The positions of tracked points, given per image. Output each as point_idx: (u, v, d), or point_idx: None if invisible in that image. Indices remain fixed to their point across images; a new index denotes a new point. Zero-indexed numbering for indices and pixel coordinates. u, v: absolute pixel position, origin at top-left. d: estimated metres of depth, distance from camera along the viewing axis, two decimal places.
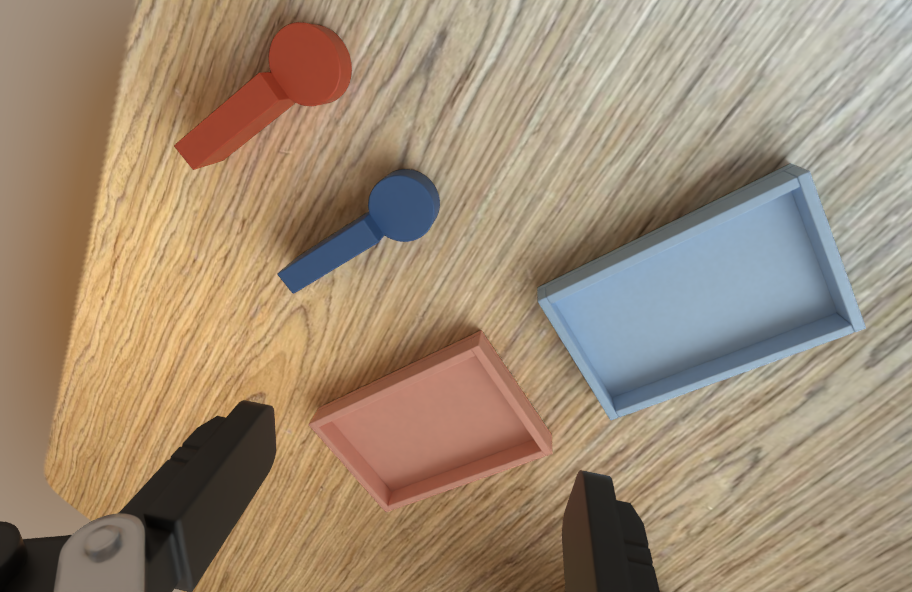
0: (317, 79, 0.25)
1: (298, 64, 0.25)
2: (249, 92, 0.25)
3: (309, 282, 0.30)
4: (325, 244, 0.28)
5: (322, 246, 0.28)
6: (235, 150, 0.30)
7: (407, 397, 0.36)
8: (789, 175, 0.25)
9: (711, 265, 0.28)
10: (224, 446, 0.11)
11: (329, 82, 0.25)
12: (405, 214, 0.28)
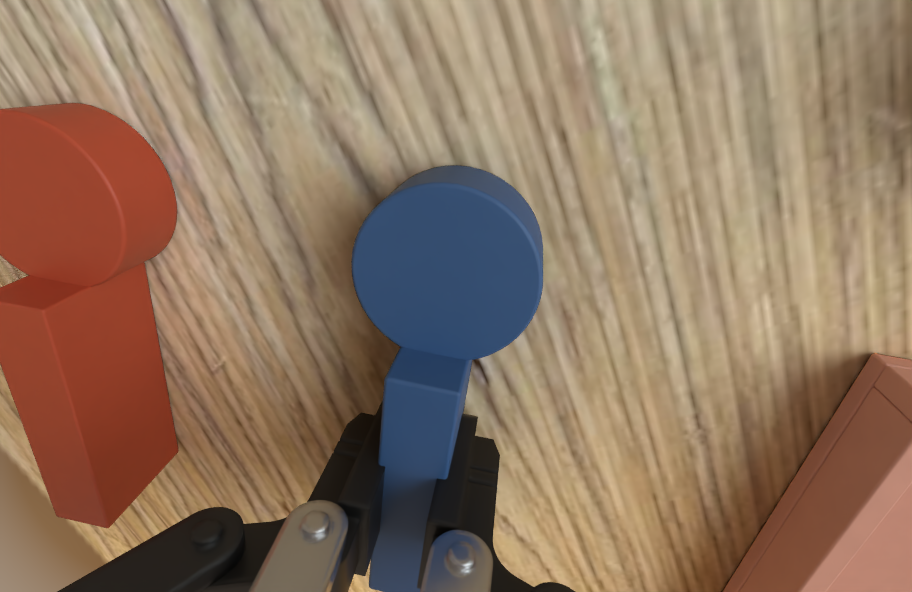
0: (72, 205, 0.10)
1: (31, 215, 0.11)
2: (8, 344, 0.11)
3: None
4: None
5: None
6: (171, 425, 0.15)
7: None
8: None
9: None
10: None
11: (89, 187, 0.10)
12: (462, 282, 0.10)
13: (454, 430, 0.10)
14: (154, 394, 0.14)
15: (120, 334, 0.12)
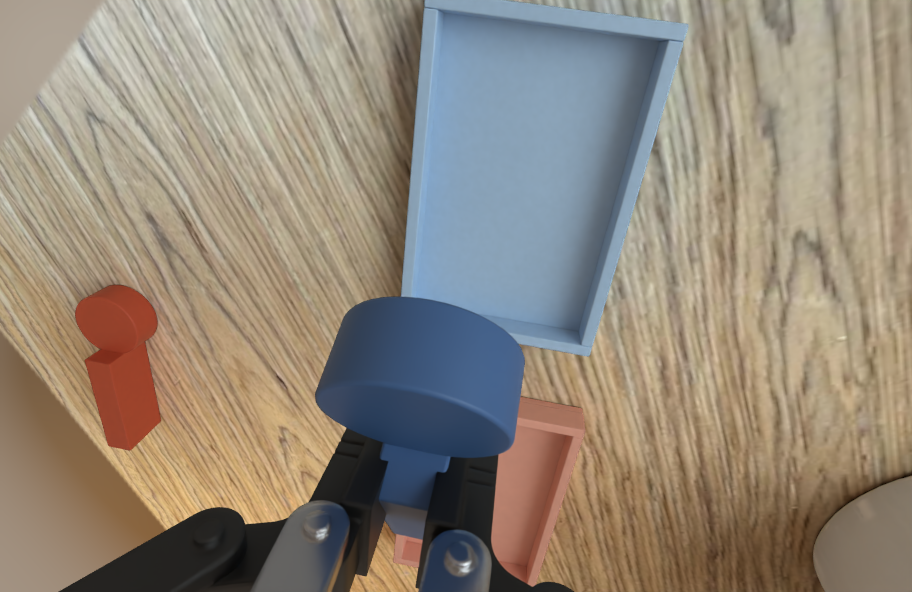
0: (118, 326, 0.29)
1: (103, 329, 0.29)
2: (94, 376, 0.29)
3: None
4: None
5: None
6: (157, 408, 0.34)
7: None
8: None
9: (491, 143, 0.22)
10: None
11: (125, 321, 0.29)
12: (432, 430, 0.09)
13: None
14: (149, 394, 0.33)
15: (135, 370, 0.31)
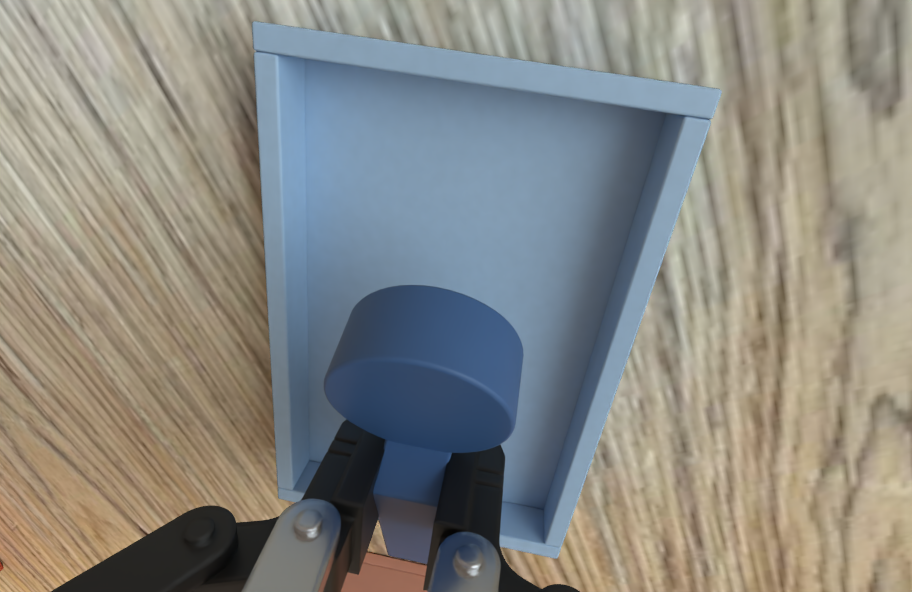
0: None
1: None
2: None
3: None
4: (382, 525, 0.13)
5: (382, 528, 0.13)
6: None
7: None
8: None
9: (399, 256, 0.14)
10: (378, 439, 0.11)
11: None
12: (436, 416, 0.10)
13: None
14: None
15: None
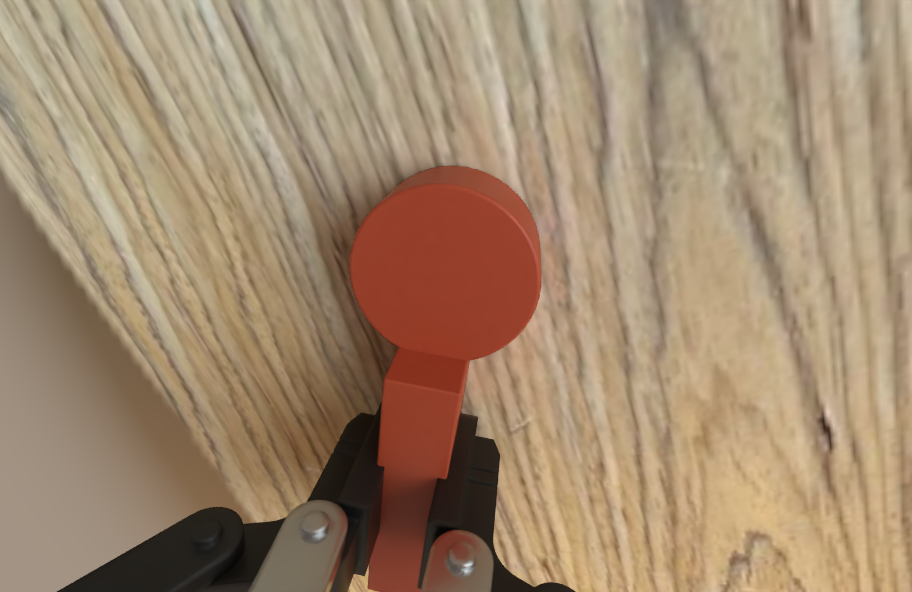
0: (485, 281, 0.10)
1: (431, 289, 0.10)
2: (399, 426, 0.10)
3: None
4: None
5: None
6: None
7: None
8: None
9: None
10: None
11: (515, 264, 0.09)
12: None
13: None
14: None
15: (461, 403, 0.12)
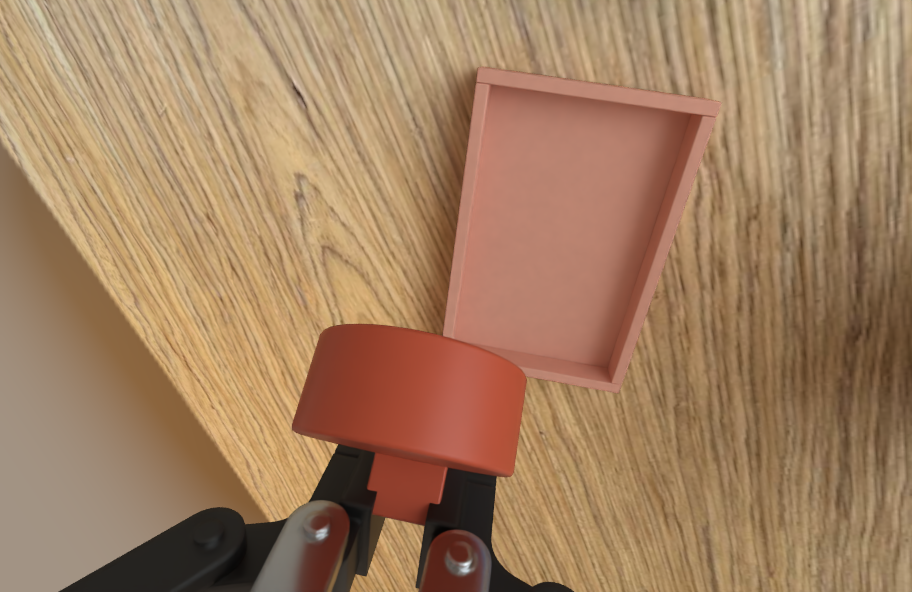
0: (449, 465, 0.08)
1: (392, 453, 0.09)
2: None
3: None
4: None
5: None
6: None
7: (499, 234, 0.25)
8: None
9: None
10: None
11: (479, 470, 0.08)
12: None
13: None
14: None
15: None
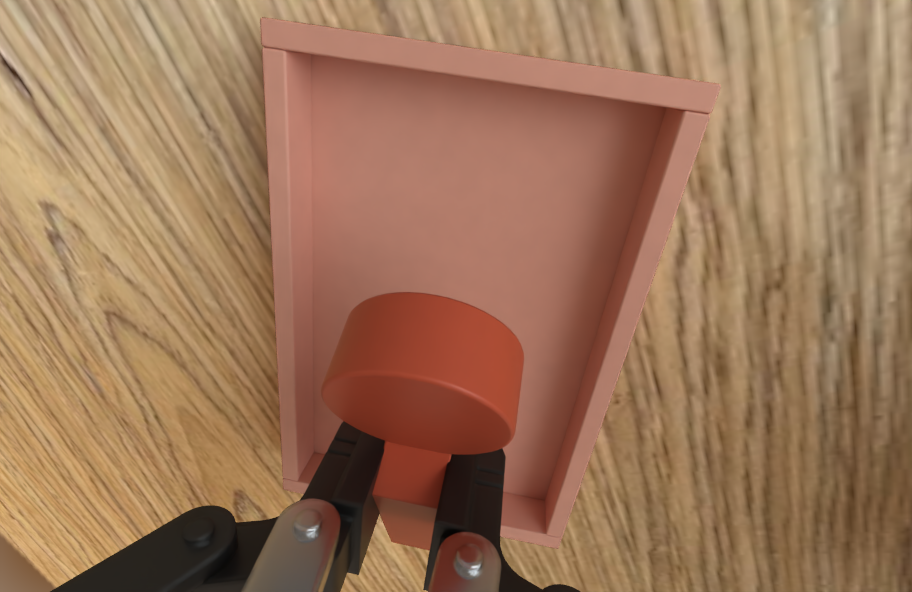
0: (459, 425, 0.09)
1: (406, 422, 0.10)
2: (392, 508, 0.11)
3: None
4: None
5: None
6: None
7: None
8: None
9: None
10: (378, 439, 0.11)
11: (486, 422, 0.09)
12: None
13: None
14: None
15: None
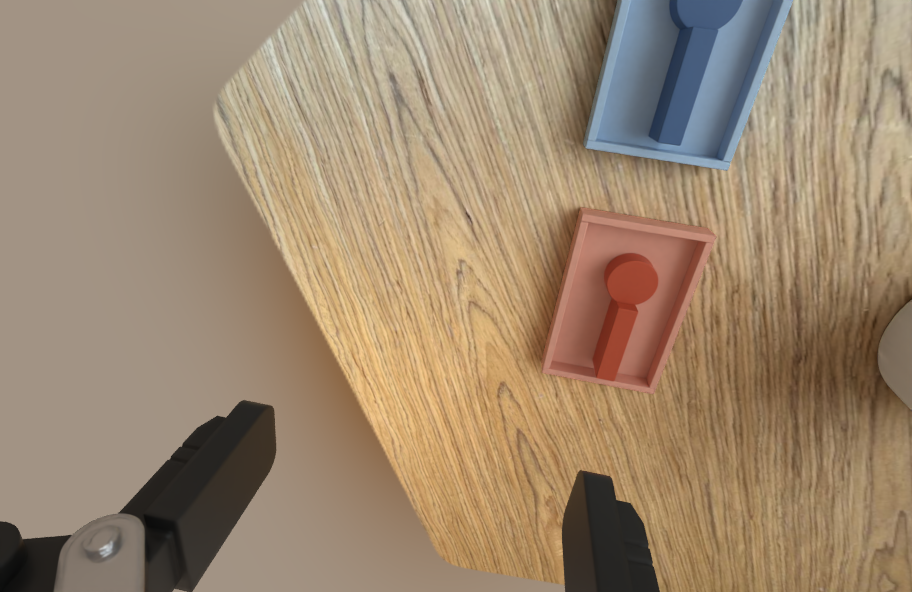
0: (644, 283, 0.38)
1: (629, 285, 0.39)
2: (619, 321, 0.39)
3: (687, 122, 0.32)
4: (678, 78, 0.31)
5: (677, 82, 0.31)
6: None
7: (583, 298, 0.42)
8: None
9: None
10: (224, 446, 0.11)
11: (652, 279, 0.38)
12: None
13: (712, 47, 0.30)
14: None
15: None
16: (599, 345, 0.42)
